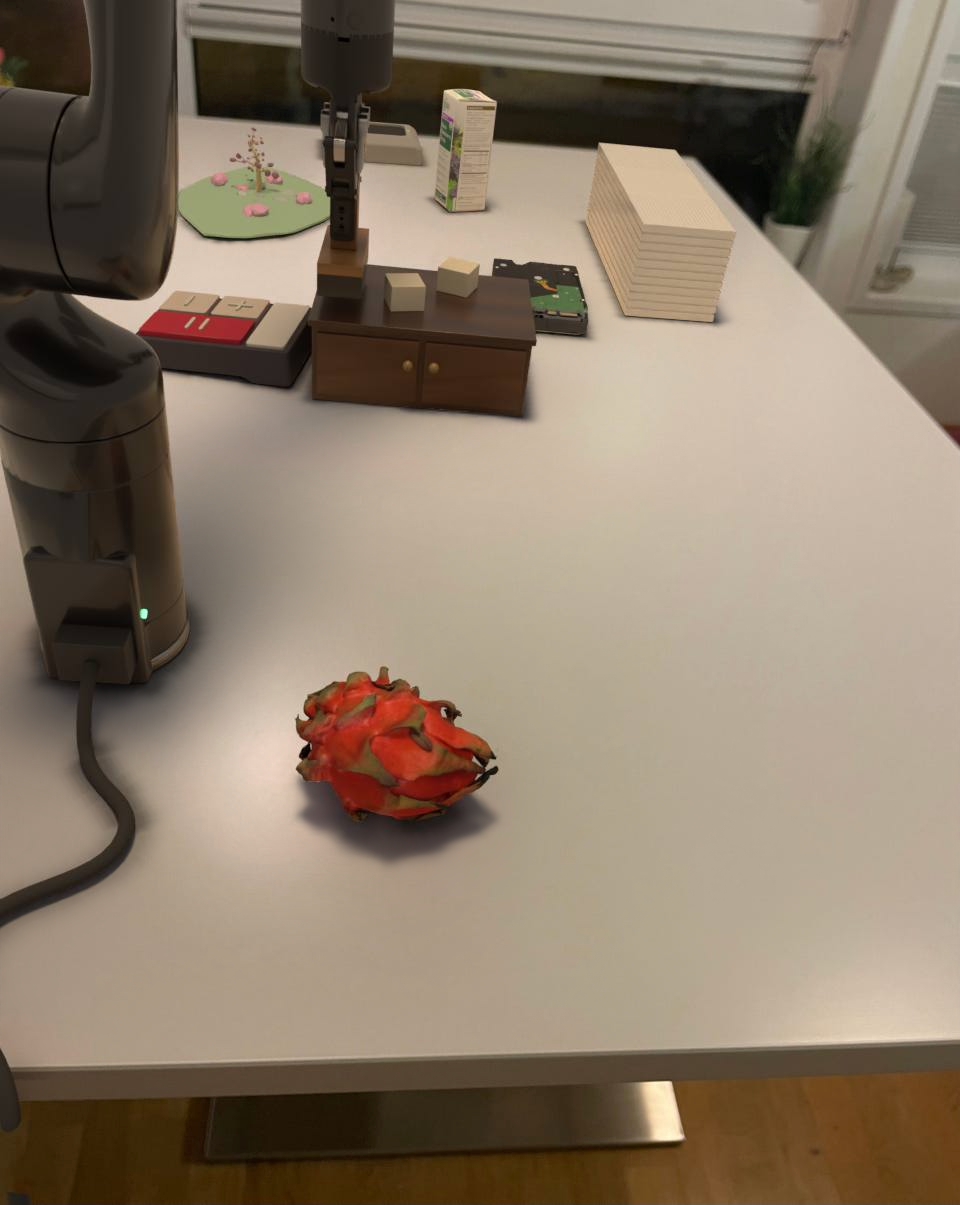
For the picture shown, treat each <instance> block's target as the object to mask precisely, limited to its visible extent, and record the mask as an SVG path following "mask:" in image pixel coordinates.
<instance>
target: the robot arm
mask: <svg viewBox="0 0 960 1205" xmlns="http://www.w3.org/2000/svg"><path fill="white" fill-rule="evenodd" d="M82 2H83V6H84V12H85V19H86V25H87V30H88V32H87V33H88V41H89V50H90V52H89V53H90V88H89V94H88V95H81V94H79V95H78V94H72V93H64V92H56V91H47V90H40V89H31V88H23V87H17V86H8V85H2V84H1V85H0V462H1V466H2V471H3V475H4V480H5V484H6V489H7V494H8V497H9V504H10V507H11V512H12V517H13V520H14V521H13V522H14V525H15V526H14V527H15V530H16V536H17V538H18V543H19V547H20V552H21V556H22V557H21V558H22V564H23V569H24V573H25V577H26V582H27V587H28V590H29V596H30V601H31V604H32V609H33V614H34V618H35V623H36V627H37V635H38V640H39V644H40V650H41V652H42V654H43V658H44V663H45V667H46V671H47V676H48V677H49V678H57V679H58V680H60V681H72V682H80V684H79V689H78V694H77V703H76V717H75V718H76V724H75V725H76V727H75V730H76V731H75V732H76V737H75V738H76V746H77V752H78V757H79V760H80V764H81V766H82V769H83V771H84V773H85V775H86V777H87V778H88V780H89V782H90V783H91V784H92V786H93V787H94V789H96V791H97V792H98V793H99V794H100V795H101V796H102V797H103V798H104V799H105V800H106V802H108V804H109V805H110V806H111V807H112V808H113V810H114V811H115V813H116V815H117V820H118V822H117V824H118V825H117V830H116V833H115V835H114V837H113V838H112V840H111V842H110V844H108V845H107V847H106V848H104V849H103V850H102V851H101V852H100V853H98V854H97V855H96V856H94V857H93V858H91V859H90V860H88V861H86V862H84V863H82V864H80V865H78V866H76V867H74V868H72V869H69V870H66V871H65V872H62V873H60V874H57V875H54V876H52V877H49V878H47V879H44V880H41V881H39V882H36V883H34V884H31V885H28V886H26V887H23V888H21V889H18V890H15V891H14V892H12V893H10V894H8V895H6V896H4V897H1V898H0V920H1V919H2V918H4V917H6V916H8V915H9V914H11V913H14V912H16V911H17V910H19V909H22V908H23V907H26V906H28V905H31V904H33V903H35V902H38V901H40V900H44V899H46V898H48V897H51V896H54V895H56V894H59V893H62V892H64V891H66V890H69V889H72V888H73V887H76V886H79V885H81V884H83V883H85V882H87V881H89V880H91V879H92V878H94V877H96V876H98V875H99V874H101V873H102V872H104V871H106V869H108V868H110V867H111V866H112V865H113V864H114V863H115V862H116V861H117V860H118V859H119V858H121V856H123V854H124V853H125V850H126V848H127V847H128V846H129V844H130V841H131V840H132V837H133V834H134V831H135V828H136V826H135V824H136V822H135V821H136V816H135V813H134V810H133V808H132V806H131V803H130V802H129V800H128V798H127V797H126V796H125V795H124V794H123V793H122V792H121V791H120V789H119V788H118V787H117V786H116V785H115V784H114V783H113V782H112V781H111V780H110V779H109V777H108V776H107V774H105V773H104V771H103V770H102V768H101V767H100V764H99V762H98V761H97V757H96V754H95V749H94V744H93V734H92V730H93V729H92V728H93V727H92V726H93V724H92V723H93V721H92V719H93V702H94V695H95V690H96V685H97V684H96V683H104V684H117V685H118V684H120V685H130V684H131V683H138V684H144V683H147V682H148V681H149V679H150V676H151V674H152V673H153V671H155V670H157V669H158V668H160V667H162V666H164V665H166V664H167V663H168V662H170V661H171V660H172V659H173V658H174V657H175V656H177V655H178V654H179V653H180V651H181V650H182V649H183V648H184V646H185V644H186V642H187V641H188V638H189V634H190V618H189V617H190V616H189V612H188V607H187V605H186V604H187V603H186V595H185V594H186V593H185V584H184V576H183V566H182V557H181V556H182V555H181V548H180V547H181V546H180V537H179V536H180V535H179V526H178V516H177V508H176V498H175V487H174V477H173V467H172V459H171V458H172V457H171V447H170V445H171V444H170V434H169V423H168V414H167V405H166V394H165V384H164V376H163V375H164V374H163V368H161V364H160V361H159V359H158V356H157V354H156V353H155V351H154V350H153V348H152V347H151V346H150V345H149V344H148V343H147V342H146V341H144V340H143V339H142V338H141V337H139V336H138V335H136V333H135V332H133V331H131V330H130V329H128V328H125V327H123V326H121V325H119V324H118V323H115V322H113V321H112V320H110V319H107V318H106V317H104V316H103V315H100V314H98V313H97V312H95V311H94V310H93V309H91V308H89V307H88V306H87V305H85V304H84V303H82V302H81V301H80V300H79V299H78V298H76V297H75V296H81V297H89V298H97V299H105V300H113V301H127V302H141V301H146V300H149V299H150V298H152V297H154V296H155V295H156V294H157V293H158V292H159V291H160V289H161V288H162V287H163V285H164V283H165V281H166V279H167V277H168V274H169V272H170V269H171V265H172V261H173V258H174V257H173V256H174V252H175V247H176V241H177V240H176V239H177V230H178V220H179V218H178V217H179V205H178V201H179V195H180V191H179V188H180V185H179V180H180V174H179V173H180V154H179V153H180V147H179V146H180V143H179V140H180V139H179V138H180V137H179V134H180V133H179V73H178V70H179V68H178V65H179V64H178V0H82ZM395 14H396V0H300V73H301V77H302V79H303V80H304V82H305V83H307V84H308V85H310V86H312V87H314V88H317V89H324V90H326V91H327V92H328V93H329V102H326V101H324V103H323V109H321V110H320V132H321V133H323V145H322V166H323V168H324V172H325V175H324V176H325V185H324V189H325V192H326V196H327V197H329V198H330V218H329V225H330V237H331V239H333V240H336V241H346V242H351V241H353V239H354V236H355V211H356V199H357V196H358V190H357V177H358V175H360V183H362V180H363V179H362V176H361V174H362V171H363V170H364V166H365V157H366V146H367V133H368V128H369V124H370V122H371V107H370V106H366V103H365V102H363V93H365V94H369V95H370V94H371V95H372V94H377V93H382V92H383V91H386V90H388V89H389V88H390V87H391V85H392V81H393V80H392V79H393V61H394V60H393V59H394V58H393V57H394V39H395V37H394V36H395V18H396V17H395ZM335 178H342V179H347V180H348V181H349V183H341V182H335ZM20 1107H21V1106H20V1101H19V1096H18V1091H17V1086H16V1084H15V1081H14V1076H13V1072H12V1070H11V1068H10V1066H9V1063H8V1061H7V1057H6V1055H5V1054H4V1052H3V1050H2V1048H1V1047H0V1128H1V1129H2V1131H4V1133H12V1132H14V1131H15V1130H17V1129H18V1128H19V1126H20V1124H21V1121H22V1113H21V1108H20ZM6 1195H7V1200H8V1205H32V1202H31V1201H32V1200H31V1198H30V1195H29V1194H26V1193H20V1192H14V1191H6Z"/></svg>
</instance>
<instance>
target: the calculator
mask: <svg viewBox="0 0 960 1205" xmlns="http://www.w3.org/2000/svg"><path fill="white" fill-rule="evenodd" d="M311 308H312V306H310V305H306V304H297V303H296V304H295V303H286V302H273V303H271V301H270V299H264V298H255V297H243V296H242V297H241V296H234V295H225V296H224V297H222V298H220V295H219V294H214V293H203V292H194V291H182V290H175V291H173V292H172V293H171V295H169V297H167V299H166V300H164V302H163V303H162V304H161V305H160V306H159V307H158V309H157V310H155V311H154V312H153V313H152V315H151V316H150V317H149V318H148V319H147V320H146V321H145V322H144V323H142V325H141V326H140V327H139V328H138V331H136V332H135V334H136V335H138V336H139V337H141V338H142V339H143V340H144V341H146V342H147V343H148V344H149V345H150V346H151V347H152V348H153V350H154V351H155V353H156V354H157V356H158V359H159V361H160V364H161V368H162V369H169V370H178V371H179V370H180V371H188V372H189V371H190V372H197V373H207V374H217V375H218V374H219V375H225V376H226V375H227V376H236V377H242V378H244V379H245V380H247V381H249V382H250V383H251V384H258V385H268V386H277V387H290V386H291V385H292V384H293V382H294V381H295V379H296V378H297V376H298V374H299V372H300V371H301V369H302V367H303V365H304V364H305V362H306V360H307V359H308V357H309V356H310V354H311V353H312V326H308V319H309V316H310V312H311Z"/></svg>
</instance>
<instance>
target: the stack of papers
mask: <svg viewBox="0 0 960 1205" xmlns="http://www.w3.org/2000/svg"><path fill="white" fill-rule="evenodd" d="M592 175H593V176H592V182H591V188H590V194H589V200H588V201H589V202H588V205H587V208H588V209H587V211H586V217H585V225H586V227H587V230H588V232H589V234H590V236H591V239H592V241H593V244H594V246H595V248H596V251H597V253H598V255H599V258H600V261H601V262H602V265H603V267H604V269H605V273H606V275H607V276H608V279H609V281H610V284H611V286H612V289H613V291H614V293H615V295H616V298H617V300H618V302H619V305H620V306H621V307H620V308H621V309H622V312H623V314H624V316H628V317H640V318H642V317H643V318H653V319H654V318H655V319H665V320H666V319H667V320H681V321H693V322H694V321H695V322H705V323H706V322H707V323H713V322H714V319H715V314H716V311H717V308H718V307H717V306H718V303H719V298H720V297H721V296H720V295H721V290H722V288H723V282H724V280H725V277H726V273H727V269H728V265H729V261H730V257H731V254H732V248H733V246H734V243H735V241H734V240H735V238H736V235H737V231H736V229H735V228H734V227H733V225H732V224H731V223H730V221H729V220H728V219H727V217H726V216H725V215H724V213H723V212H722V210H721V209H720V208H719V206H718V205H717V204H716V202H715V201H714V200H713V199H712V197H711V196H710V194H709V193H708V192H707V190H706V189H705V188H704V186H703V185H702V184H701V182H700V181H699V179H698V178H697V177H696V176H695V174H694V173H693V171H692V170H691V169H690V168H689V166H688V165H687V164H686V162H685V161H684V160H683V158H682V156H680V154H679V153H678V151H677V150H676V149H672V148H671V149H670V148H669V149H668V148H658V147H649V146H639V145H627V144H618V143H617V144H616V143H607V142H598V145H597V151H596V159H595V166H594V170H593V174H592Z"/></svg>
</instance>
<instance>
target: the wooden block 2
mask: <svg viewBox="0 0 960 1205" xmlns="http://www.w3.org/2000/svg"><path fill="white" fill-rule="evenodd" d="M437 271H438V274H437V287H436V291H440V292H444V293H449V294H453V295H457V296H461V297H465V298H467V297H468V296H469V295H470V294H471V293H472V292H473V291H474V290H475V289H476V288H477V286H478V277H479V275H480V262H475V261H470V260H466V259H462V258H457V257H453V256H449V257H448V258H446V259H445V260H444V261H443V262H441V264H440V265H438V266H437Z"/></svg>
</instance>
